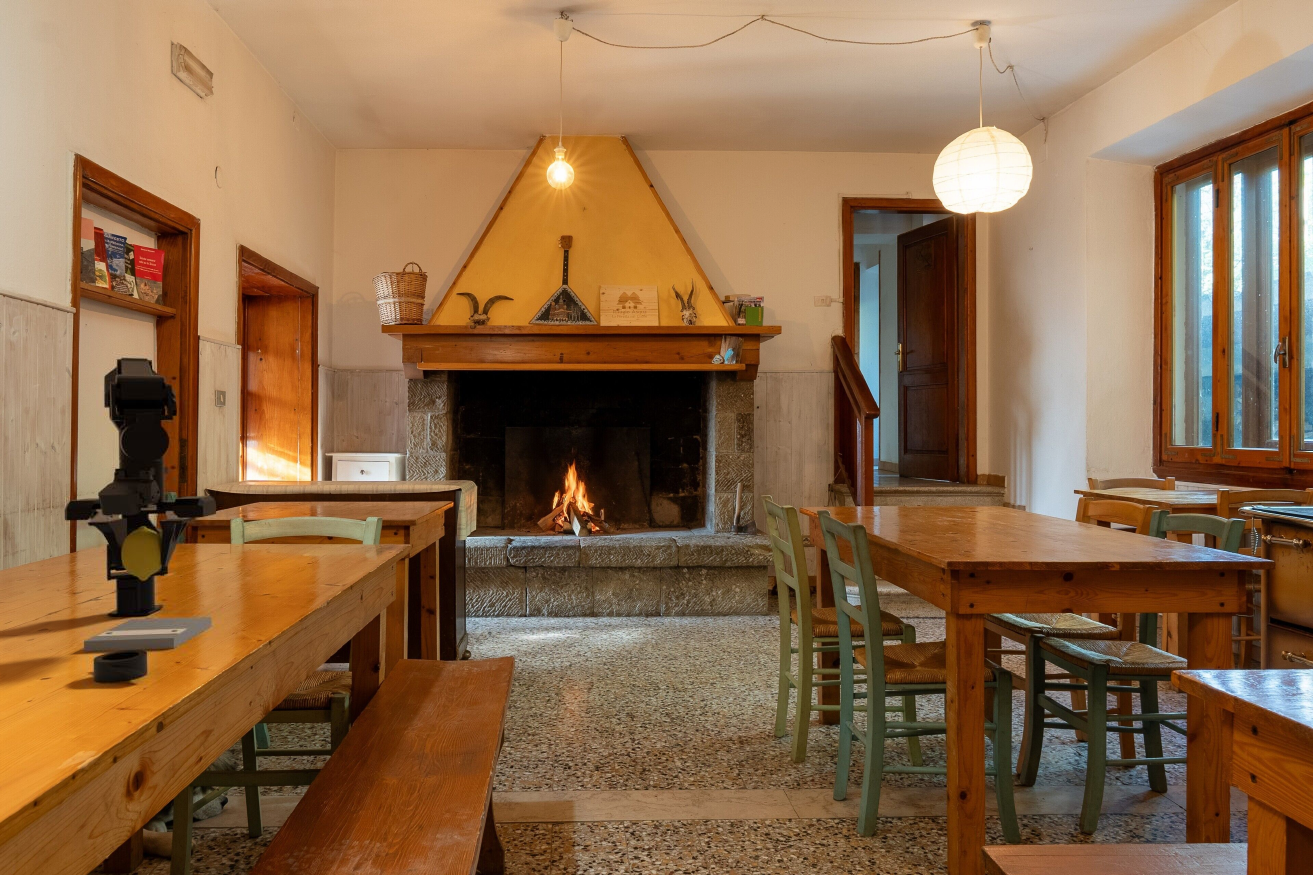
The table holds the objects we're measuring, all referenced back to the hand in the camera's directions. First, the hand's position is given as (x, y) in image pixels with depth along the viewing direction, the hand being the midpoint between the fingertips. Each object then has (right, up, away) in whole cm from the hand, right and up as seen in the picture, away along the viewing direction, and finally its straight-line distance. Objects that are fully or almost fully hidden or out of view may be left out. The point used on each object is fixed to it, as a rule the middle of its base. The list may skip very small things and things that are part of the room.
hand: (143, 566), depth 128 cm
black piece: (+7, -12, -17) cm, 22 cm away
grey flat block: (0, -11, +3) cm, 11 cm away
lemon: (0, -2, 0) cm, 2 cm away
